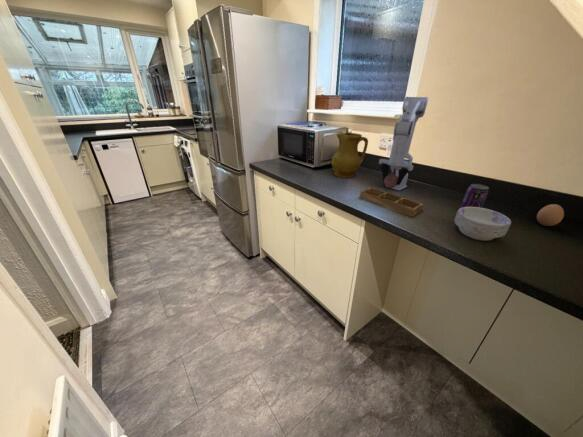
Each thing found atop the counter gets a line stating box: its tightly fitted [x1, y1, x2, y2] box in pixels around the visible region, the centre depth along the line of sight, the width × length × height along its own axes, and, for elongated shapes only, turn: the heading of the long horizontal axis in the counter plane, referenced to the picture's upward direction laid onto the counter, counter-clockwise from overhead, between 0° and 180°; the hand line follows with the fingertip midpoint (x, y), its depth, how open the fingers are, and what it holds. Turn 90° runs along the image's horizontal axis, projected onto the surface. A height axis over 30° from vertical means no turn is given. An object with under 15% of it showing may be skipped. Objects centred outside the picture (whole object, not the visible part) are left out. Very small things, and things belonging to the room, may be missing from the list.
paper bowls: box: [454, 207, 512, 242], centre depth 83 cm, size 15×15×8 cm
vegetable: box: [383, 167, 398, 190], centre depth 104 cm, size 6×6×10 cm
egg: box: [536, 203, 565, 227], centre depth 90 cm, size 7×7×9 cm
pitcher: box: [331, 131, 369, 179], centre depth 140 cm, size 17×19×25 cm
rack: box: [359, 187, 424, 218], centre depth 107 cm, size 9×26×4 cm, turn 41°
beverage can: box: [459, 183, 490, 209], centre depth 98 cm, size 7×7×12 cm
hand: (391, 182), depth 105 cm, fingers closed on vegetable, 6 cm apart
